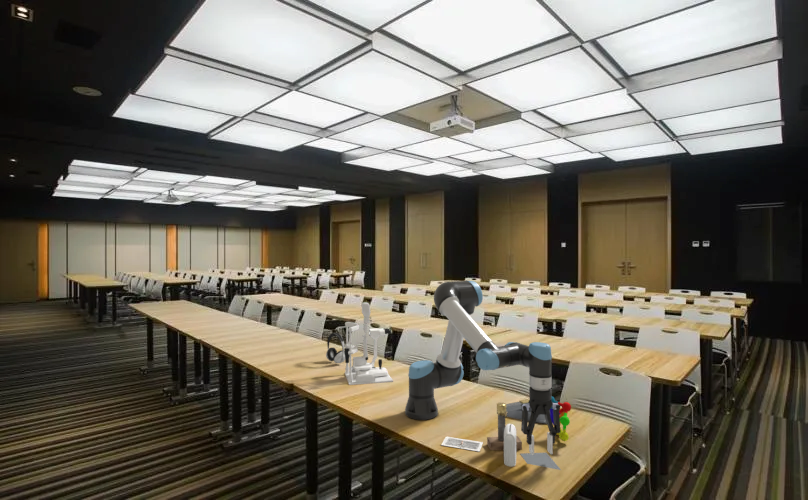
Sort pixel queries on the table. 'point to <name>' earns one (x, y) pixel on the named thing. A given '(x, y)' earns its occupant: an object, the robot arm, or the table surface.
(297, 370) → the table surface
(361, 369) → the white slit lamp
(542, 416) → the external hard drive
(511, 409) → the lever
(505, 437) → the white upright block
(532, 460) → the mat
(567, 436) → the molecular model
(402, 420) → the table surface
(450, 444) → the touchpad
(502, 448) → the post stand
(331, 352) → the headphones
